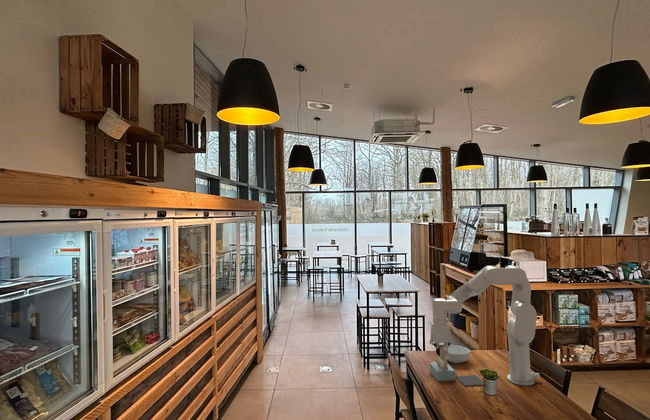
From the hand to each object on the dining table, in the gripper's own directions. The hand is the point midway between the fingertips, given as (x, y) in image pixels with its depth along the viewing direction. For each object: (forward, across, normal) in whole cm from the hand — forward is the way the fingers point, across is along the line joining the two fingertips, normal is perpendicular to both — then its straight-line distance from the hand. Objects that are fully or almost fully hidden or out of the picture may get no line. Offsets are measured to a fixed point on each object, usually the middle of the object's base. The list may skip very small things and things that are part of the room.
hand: (441, 354), depth 194 cm
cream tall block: (+7, 0, 0) cm, 7 cm away
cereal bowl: (+12, -16, -20) cm, 28 cm away
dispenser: (+11, 0, 0) cm, 11 cm away
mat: (+12, -12, +8) cm, 18 cm away
